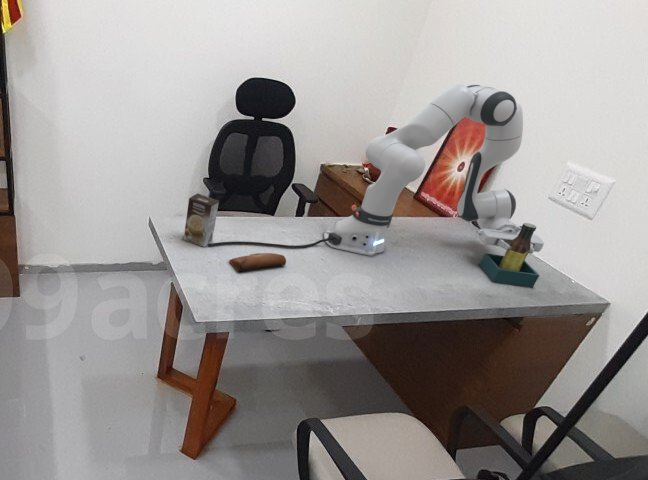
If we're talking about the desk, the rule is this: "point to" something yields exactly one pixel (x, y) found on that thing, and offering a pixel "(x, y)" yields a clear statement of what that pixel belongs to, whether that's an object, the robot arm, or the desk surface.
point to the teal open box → (508, 272)
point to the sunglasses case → (257, 261)
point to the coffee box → (200, 219)
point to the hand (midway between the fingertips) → (520, 250)
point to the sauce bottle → (518, 249)
